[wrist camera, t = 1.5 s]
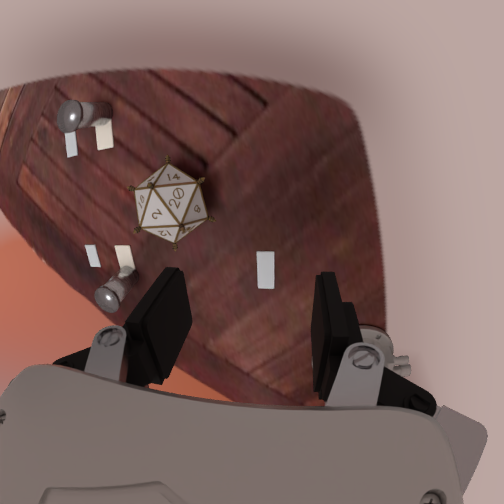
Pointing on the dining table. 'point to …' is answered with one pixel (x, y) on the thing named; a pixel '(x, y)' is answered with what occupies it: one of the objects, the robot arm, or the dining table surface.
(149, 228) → the game die
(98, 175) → the dining table surface
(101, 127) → the distance lines
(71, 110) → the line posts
